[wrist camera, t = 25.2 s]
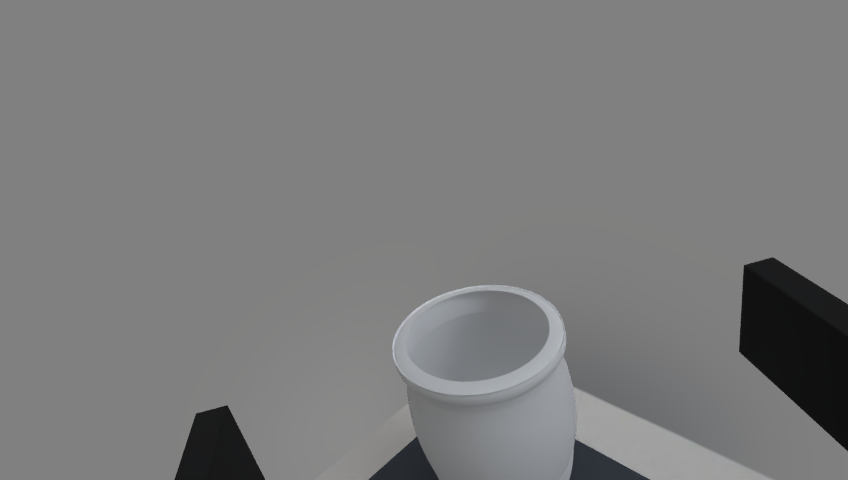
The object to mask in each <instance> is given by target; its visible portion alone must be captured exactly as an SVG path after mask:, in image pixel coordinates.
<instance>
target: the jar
mask: <svg viewBox="0 0 848 480" xmlns="http://www.w3.org/2000/svg"><path fill="white" fill-rule="evenodd" d="M565 348H566V331H565V327H564V323H563V320H562V317H561V315H560V313H559V312H558V311H557V309H556V308H555V307H554V306H553V305H552V304H551V303H550V302H549V301H548V300H546V299H545V298H543V297H541V296H540V295H538V294H536V293H533V292H531V291H528V290H525V289H521V288H517V287H512V286H504V285H482V286H473V287H466V288H462V289H458V290H454V291H451V292H448V293H445V294H442V295H440V296H437V297H435V298H433V299H431V300H430V301H428V302H426V303H424V304H423V305H421V306H420V307H418V308H417V309H415V310H414V311H413V312H412V313H411V314H410V315H409V316H408V317H407V318H406V319H405V320H404V321H403V322H402V324H401V325H400V327H399V328H398V330H397V332H396V334H395V336H394V340H393V345H392V353H393V358H394V361H395V364H396V368H397V370H398V372H399V374H400V376H401V378H402V379H403V380H404V382H405V383H406V384H407V392H408V401H409V407H410V412H411V417H412V421H413V425H414V428H415V431H416V434H417V437H418V440H419V442H420V445H421V447H422V449H423V451H424V453H425V455H426V457H427V459H428V461H429V463H430V465H431V466H432V468H433V470H434V471H435V473H436V475H437V477H438V479H439V480H569V479H570V476H571V471H572V465H573V455H574V442H575V435H576V404H575V396H574V391H573V386H572V381H571V377H570V374H569V370H568V367H567V364H566V361H565V359H564V356H563V355H564V352H565Z"/></svg>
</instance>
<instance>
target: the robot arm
mask: <svg viewBox="0 0 848 480" xmlns="http://www.w3.org/2000/svg"><path fill="white" fill-rule="evenodd" d="M739 352H740V353H741V354H742V355H744V357H746V358H747V359H748V360H749V361H750V362H751V363H752V364H753V365H754V366H755V367H756V368H758V369H759V370H760V371H761V372H762V373H763V374H764V375H765V376H767V377H768V379H770V380H771V381H772V382H773V383H774V384H775V385H776V386H777V387H778V388H779V389H781V390H782V391H783V392H784V393H785V394H786V395H787V396H788V397H789V398H790V399H791V400H793V401H794V402H795V403H796V404H797V405H798V406H799V407H800V408H801V409H802V410H804V411H805V412H806V413H807V414H808V415H809V416H810V417H811V418H812V419H813V420H814V421H816V422H817V423H818V424H819V425H820V426H821V427H822V428H823V429H824V430H825V431H826V432H827V433H829V434H830V435H831V436H832V437H833V438H834V439H835V440H836V441H837V442H838V443H839V444H841V445H842V446H843V447H844V448H845V449H846V450H847V451H848V304H846V303H845V302H843V301H842V300H840V299H838V298H837V297H835V296H834V295H832V294H830V293H829V292H827V291H826V290H824V289H823V288H821V287H819V286H818V285H816V284H814V283H813V282H811V281H810V280H808V279H806V278H805V277H803V276H802V275H800V274H798V273H797V272H795V271H794V270H792V269H791V268H789V267H788V266H786V265H784V264H783V263H781V262H780V261H778V260H776V259H775V258H769V259H765V260H762V261H758V262H754V263H750V264H747V265H744V274H743V292H742V310H741V328H740V346H739ZM175 480H265V478H264V476H263V474H262V472H261V471H260V469H259V467H258V465H257V463H256V461H255V459H254V457H253V455H252V453H251V451H250V449H249V447H248V445H247V443H246V441H245V439H244V437H243V435H242V433H241V431H240V429H239V428H238V425H237V423H236V421H235V419H234V417H233V415H232V413H231V411H230V410H229V408H228V406H223V407H219V408H216V409H212V410H208V411H204V412H201V413H197V414H196V416H195V419H194V422H193V425H192V428H191V431H190V434H189V437H188V440H187V443H186V446H185V450H184V452H183V456H182V459H181V462H180V465H179V468H178V471H177V474H176V477H175Z"/></svg>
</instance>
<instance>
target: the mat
mask: <svg viewBox="0 0 848 480" xmlns="http://www.w3.org/2000/svg"><path fill="white" fill-rule="evenodd" d="M369 480H439V479H438V477H437V475H436V473H435V471H434V470H433V468H432V466H431V465H430V463H429V461H428V459H427V457H426V455H425V453H424V451H423V449H422V447H421V445H420V442H419V440H418V437H416V438H415V439H414V440H413V441H412V442H410V443H409V444H408V445H407V446H406V447H405V448H404V449H403V450H401V451H400V452H399V453H398V454H397V455H396V456H395V457H393V458H392V459H391V460H390V461H389V462H388V463H387V464H386V465H384V466H383V467H382V468H381V469H380V470H379V471H378V472H377V473H375V474H374V475H373V476H372V477H371V478H370V479H369ZM569 480H649V479H647V478H646V477H644V476H642V475H640V474H638V473H636V472H635V471H633V470H631V469H629V468H627V467H625V466H623V465H622V464H620V463H618V462H616V461H614V460H612V459H611V458H609V457H607V456H605V455H603V454H601V453H599V452H598V451H596V450H594V449H592V448H590V447H588V446H586V445H585V444H583V443H581V442H579V441H577V440H575V442H574V455H573V465H572V471H571V476H570V479H569Z"/></svg>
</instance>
